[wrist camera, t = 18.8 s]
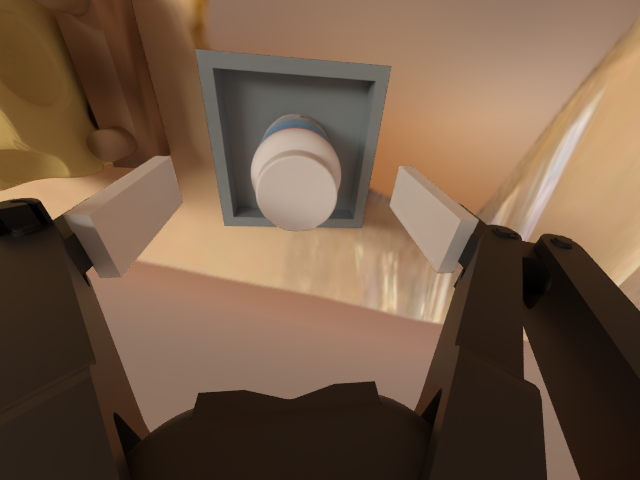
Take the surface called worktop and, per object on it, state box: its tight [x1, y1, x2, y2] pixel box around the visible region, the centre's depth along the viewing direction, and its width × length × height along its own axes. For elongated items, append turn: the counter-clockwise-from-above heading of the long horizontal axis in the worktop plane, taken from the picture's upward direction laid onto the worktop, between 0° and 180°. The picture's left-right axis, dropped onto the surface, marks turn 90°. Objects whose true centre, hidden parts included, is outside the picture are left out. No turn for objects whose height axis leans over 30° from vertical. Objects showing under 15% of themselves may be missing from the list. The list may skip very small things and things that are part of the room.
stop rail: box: [33, 0, 170, 168], centre depth 17 cm, size 12×2×6 cm, turn 176°
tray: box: [195, 49, 391, 228], centre depth 23 cm, size 14×14×3 cm
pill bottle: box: [251, 114, 341, 231], centre depth 18 cm, size 6×6×11 cm
